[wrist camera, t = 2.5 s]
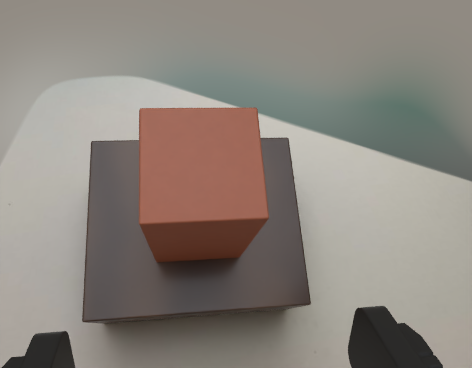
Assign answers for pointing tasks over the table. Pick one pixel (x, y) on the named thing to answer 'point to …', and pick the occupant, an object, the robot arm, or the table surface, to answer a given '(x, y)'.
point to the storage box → (193, 271)
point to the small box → (200, 182)
